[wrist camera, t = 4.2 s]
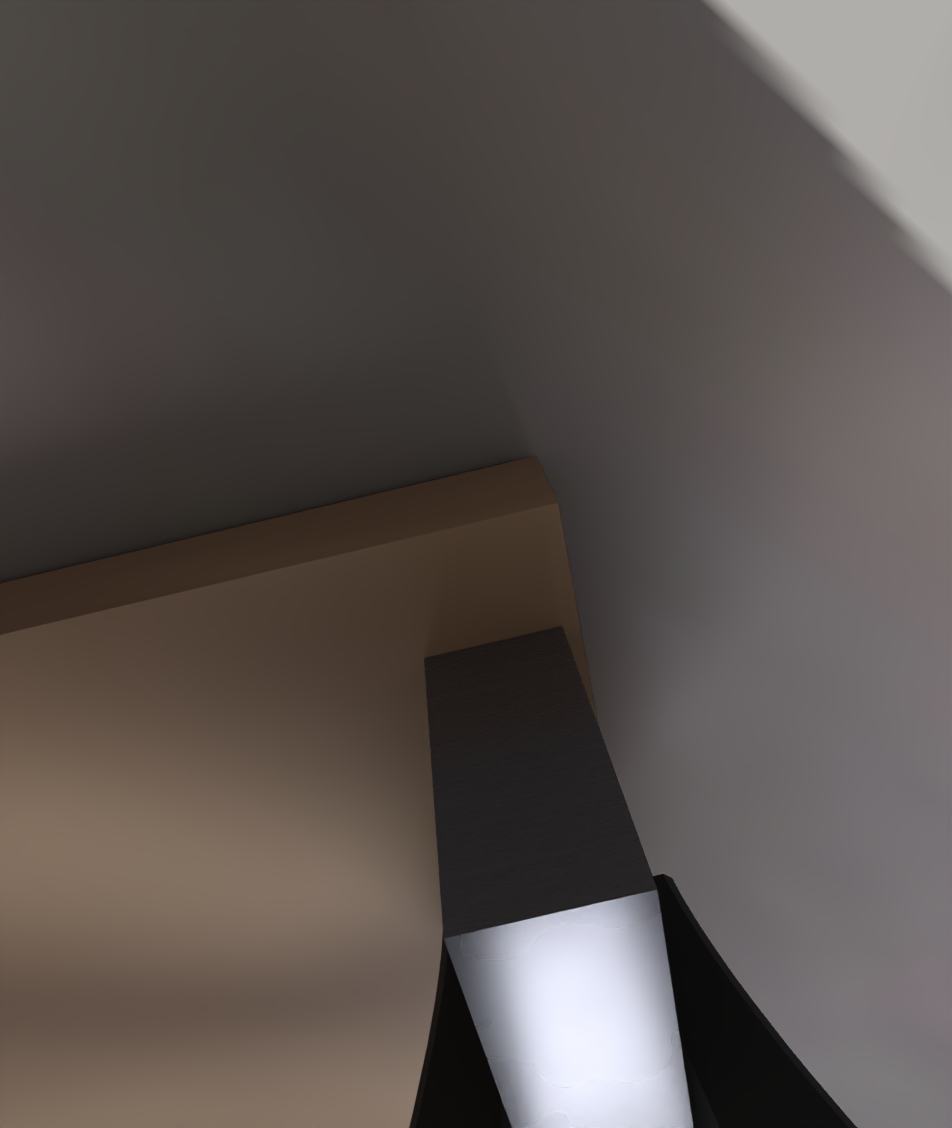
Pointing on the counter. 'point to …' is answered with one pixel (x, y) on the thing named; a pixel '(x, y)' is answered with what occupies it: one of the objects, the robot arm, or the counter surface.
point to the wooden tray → (321, 828)
